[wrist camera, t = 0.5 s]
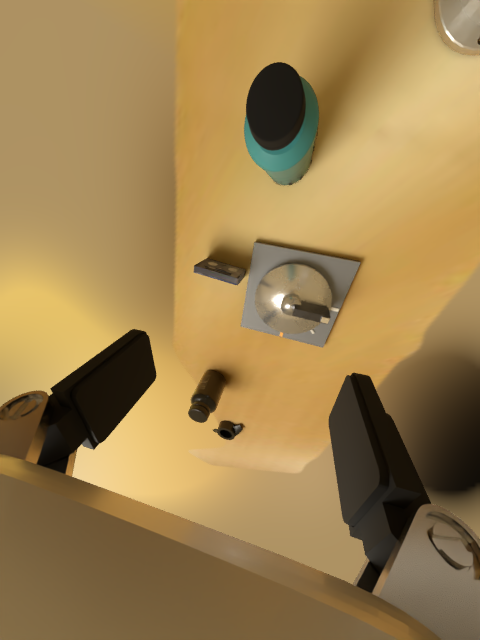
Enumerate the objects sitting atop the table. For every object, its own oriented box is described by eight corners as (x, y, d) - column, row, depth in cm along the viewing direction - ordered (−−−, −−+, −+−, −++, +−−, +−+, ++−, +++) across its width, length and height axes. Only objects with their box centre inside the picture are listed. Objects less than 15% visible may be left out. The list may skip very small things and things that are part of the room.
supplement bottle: (204, 384, 60) (184, 420, 49) (203, 367, 56) (182, 402, 46) (226, 390, 58) (210, 428, 48) (227, 372, 55) (210, 410, 45)
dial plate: (255, 241, 37) (254, 242, 36) (359, 261, 34) (360, 262, 33) (241, 324, 46) (240, 326, 45) (322, 344, 43) (323, 348, 42)
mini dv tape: (206, 265, 42) (193, 273, 36) (207, 258, 41) (194, 265, 36) (244, 276, 41) (236, 286, 36) (245, 269, 40) (238, 278, 35)
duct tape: (214, 414, 66) (210, 422, 64) (243, 422, 64) (241, 431, 62) (214, 428, 70) (211, 436, 67) (242, 436, 68) (240, 445, 66)
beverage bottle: (288, 197, 32) (275, 188, 15) (258, 165, 31) (208, 119, 15) (322, 155, 29) (353, 86, 12) (289, 118, 28) (272, -12, 11)
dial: (250, 321, 44) (244, 334, 39) (263, 256, 37) (257, 263, 32) (316, 337, 42) (318, 354, 37) (343, 272, 34) (349, 282, 30)
